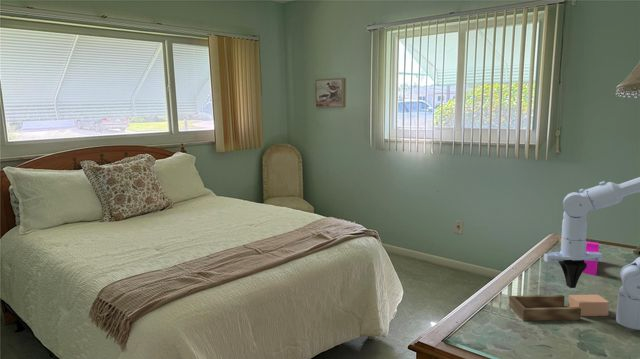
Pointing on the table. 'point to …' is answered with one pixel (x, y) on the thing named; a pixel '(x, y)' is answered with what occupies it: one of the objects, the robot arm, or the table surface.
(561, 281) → the table surface
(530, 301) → the walnut cubby
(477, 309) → the table surface
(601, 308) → the terracotta brick
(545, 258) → the robot arm
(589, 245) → the toy block
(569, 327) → the table surface
